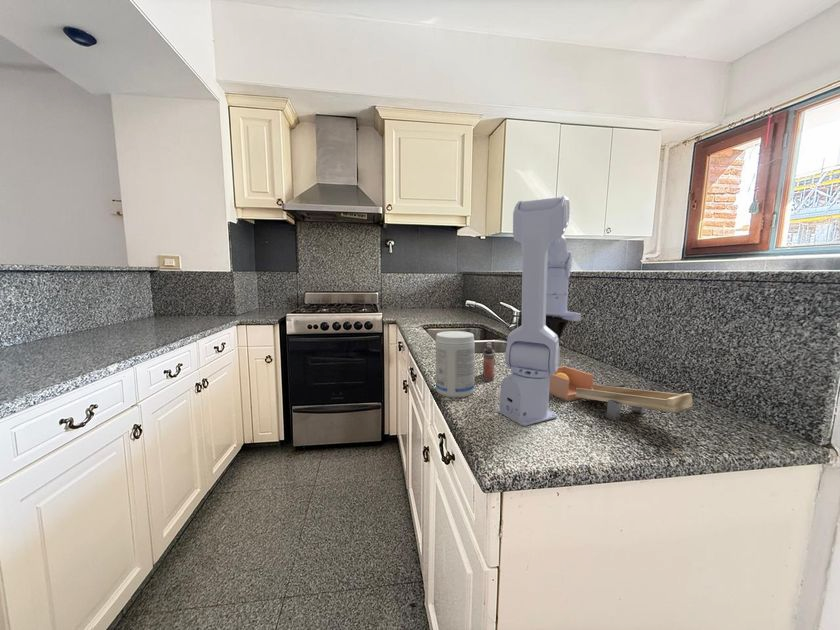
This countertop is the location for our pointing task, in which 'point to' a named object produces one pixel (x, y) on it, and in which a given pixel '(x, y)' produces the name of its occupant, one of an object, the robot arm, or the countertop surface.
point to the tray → (569, 383)
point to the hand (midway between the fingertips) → (553, 344)
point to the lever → (637, 397)
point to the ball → (562, 375)
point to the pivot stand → (619, 410)
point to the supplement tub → (455, 363)
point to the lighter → (488, 362)
